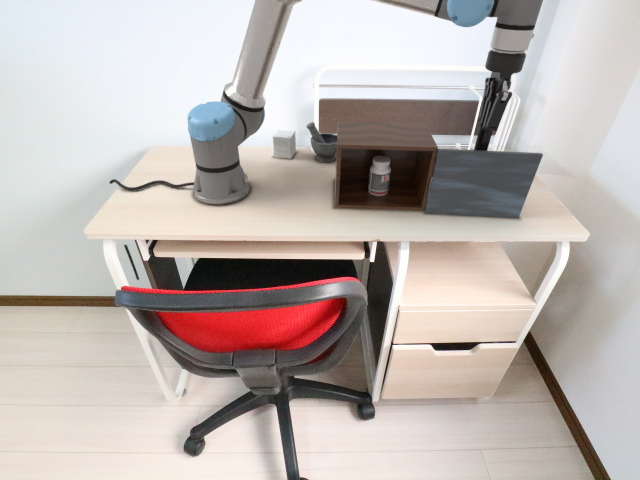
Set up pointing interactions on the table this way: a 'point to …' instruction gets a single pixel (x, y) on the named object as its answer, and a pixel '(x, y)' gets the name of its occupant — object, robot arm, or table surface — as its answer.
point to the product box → (284, 144)
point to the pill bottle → (379, 176)
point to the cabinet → (405, 162)
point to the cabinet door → (481, 182)
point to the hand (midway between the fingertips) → (479, 154)
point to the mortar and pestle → (323, 144)
